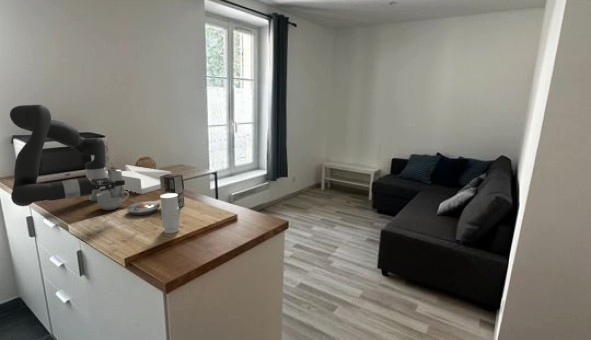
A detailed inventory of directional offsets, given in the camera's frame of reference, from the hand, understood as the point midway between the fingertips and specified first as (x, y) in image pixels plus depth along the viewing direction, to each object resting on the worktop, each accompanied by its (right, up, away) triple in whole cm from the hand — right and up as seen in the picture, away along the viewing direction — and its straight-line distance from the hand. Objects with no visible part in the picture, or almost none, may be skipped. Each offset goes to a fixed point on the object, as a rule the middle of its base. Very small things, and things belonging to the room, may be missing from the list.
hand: (122, 181), depth 139 cm
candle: (+26, -20, -10) cm, 34 cm away
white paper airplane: (-27, -5, +61) cm, 67 cm away
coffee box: (+15, -14, +20) cm, 29 cm away
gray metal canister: (-2, -7, 0) cm, 7 cm away
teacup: (-14, -14, +17) cm, 26 cm away
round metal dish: (+4, -15, +12) cm, 20 cm away
